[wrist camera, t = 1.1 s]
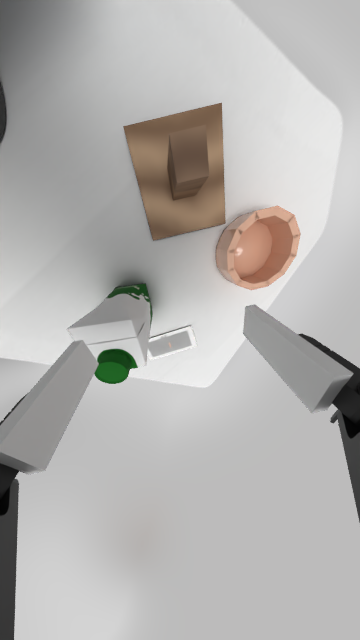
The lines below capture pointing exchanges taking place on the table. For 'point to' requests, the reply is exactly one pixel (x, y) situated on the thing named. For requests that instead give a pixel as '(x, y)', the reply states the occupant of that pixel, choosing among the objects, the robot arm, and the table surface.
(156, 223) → the cover board
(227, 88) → the table surface
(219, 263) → the bowl
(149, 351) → the touchpad
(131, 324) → the milk carton
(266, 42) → the table surface
